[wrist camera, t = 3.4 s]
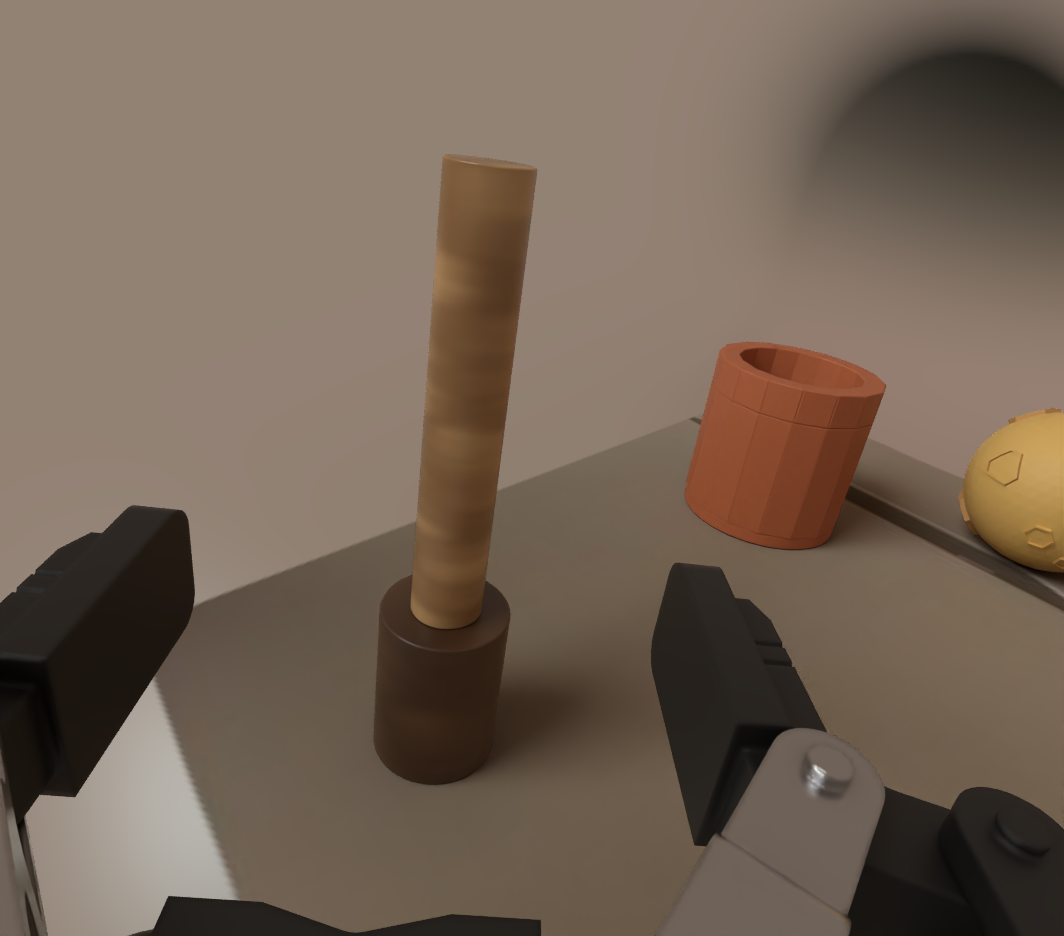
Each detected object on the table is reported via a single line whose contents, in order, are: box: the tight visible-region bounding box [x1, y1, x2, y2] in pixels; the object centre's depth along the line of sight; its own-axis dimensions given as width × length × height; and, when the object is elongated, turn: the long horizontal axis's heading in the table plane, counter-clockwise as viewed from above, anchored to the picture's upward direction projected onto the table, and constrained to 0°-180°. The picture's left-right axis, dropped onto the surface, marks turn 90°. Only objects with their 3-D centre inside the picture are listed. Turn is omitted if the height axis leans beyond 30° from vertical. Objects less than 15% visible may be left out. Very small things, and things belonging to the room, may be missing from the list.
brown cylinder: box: [374, 154, 537, 784], centre depth 22 cm, size 4×4×20 cm
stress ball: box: [959, 408, 1064, 572], centre depth 44 cm, size 10×10×10 cm
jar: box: [685, 342, 886, 549], centre depth 45 cm, size 10×10×10 cm
